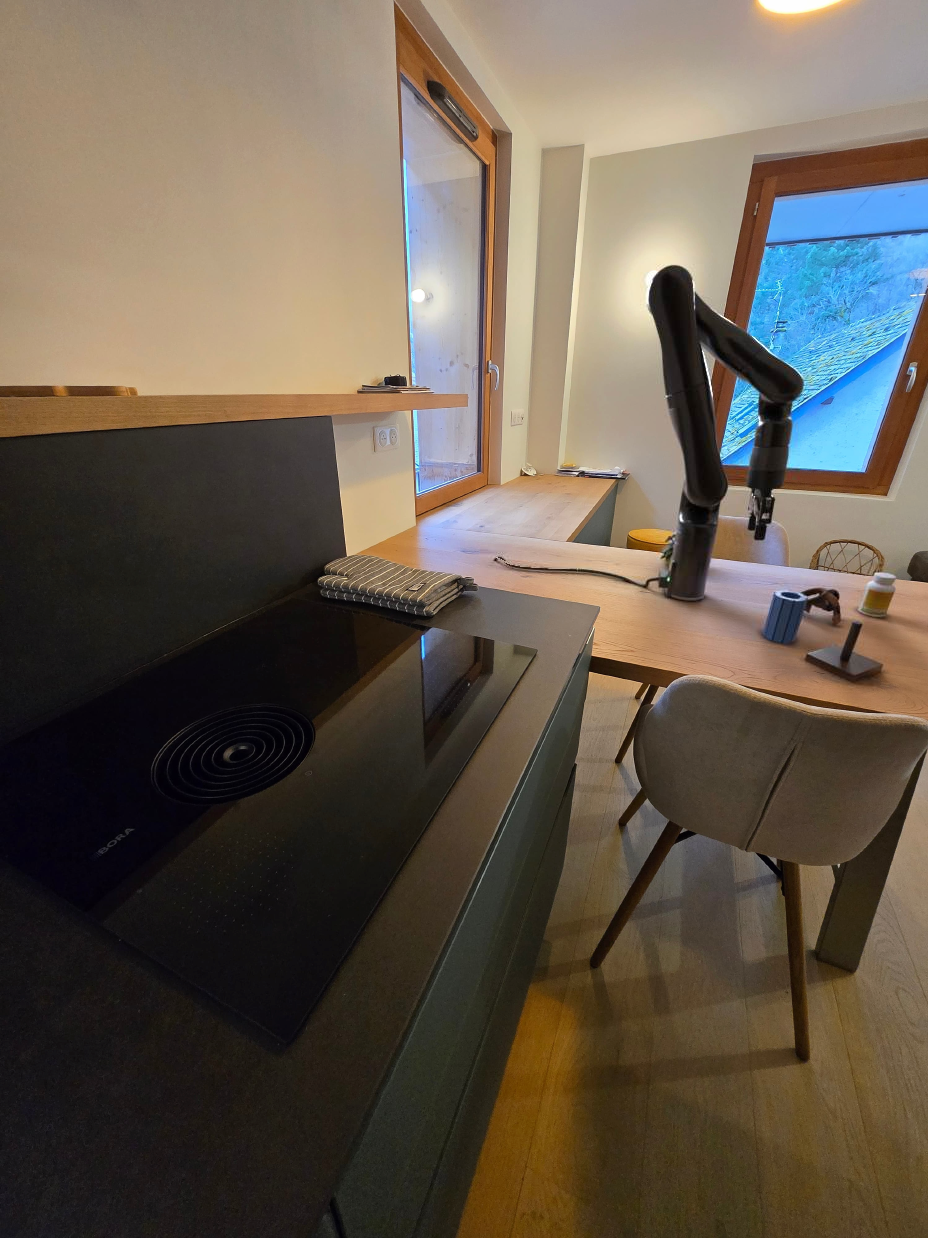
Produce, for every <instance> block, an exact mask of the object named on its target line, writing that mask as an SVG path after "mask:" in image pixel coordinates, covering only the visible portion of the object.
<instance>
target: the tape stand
mask: <svg viewBox="0 0 928 1238" xmlns="http://www.w3.org/2000/svg"><path fill="white" fill-rule="evenodd" d="M863 625H864V623H863V622H862V621H859V620H853V621H852V622H851V625H850V627H849V630H848V633H847V636H846V638H845V641H844V643H843V646H841V645H838V644H835V643H834V644H832V645H829V646H826V647H823V648H820V649H817V650H814V651H811V652H807V653H806V655H805V659H804V661H806V662H808V663H811V664H812V665H814V666H817V667H819V668H821V669H823V670H824V671H825V670H826V671H827V672H830V673H831V674H834V675H836V676H838V677H841V678H842V679H845V680H846V681H849V682H855V681H859V680H861V679H864V678H865V677H869V676H871V675H873V674H877V673H879V672H881V671H882V669H883V667H884V664H883V663H881V662H878V661H876V660H874V659H871V658H869V657H867V656H864V655H862V654H860V653H857V652H855V651H854V649H855V647H856V644H857V641H858V638H859V635H860V633H861V630H862V627H863Z"/></svg>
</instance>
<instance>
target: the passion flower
mask: <svg viewBox="0 0 928 1238" xmlns="http://www.w3.org/2000/svg"><path fill="white" fill-rule="evenodd" d="M675 536H676V533H673V534H672V535H668V536H667V538H666V539H664V543H667V545H665V546H664V547H662V550H661V554H662V555H661V556H660V558H659V559H660V560H662V559H664V560H665V561H666V564H665V566H666V568H667V569H668V570H669V565H670V559H671V556H672V554H673V548H674V542H675V540H673V539H675ZM669 541H671V542H669ZM668 542H669V543H668Z"/></svg>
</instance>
